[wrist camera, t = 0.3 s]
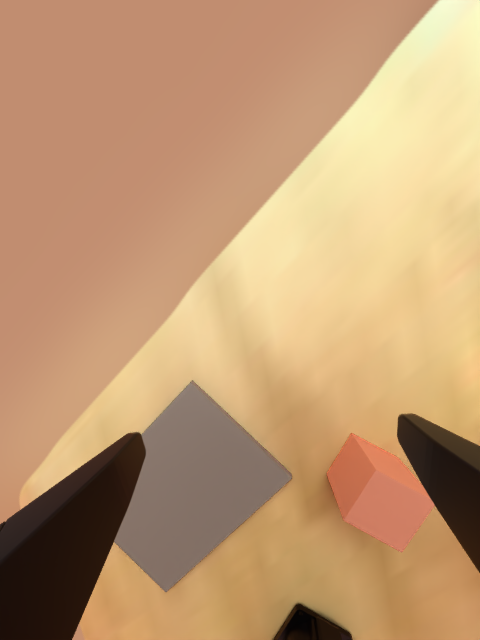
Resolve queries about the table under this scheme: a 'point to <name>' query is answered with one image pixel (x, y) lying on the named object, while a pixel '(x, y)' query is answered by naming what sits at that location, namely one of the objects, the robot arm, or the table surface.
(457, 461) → the robot arm
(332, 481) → the block
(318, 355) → the table surface
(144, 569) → the mat
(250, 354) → the table surface
